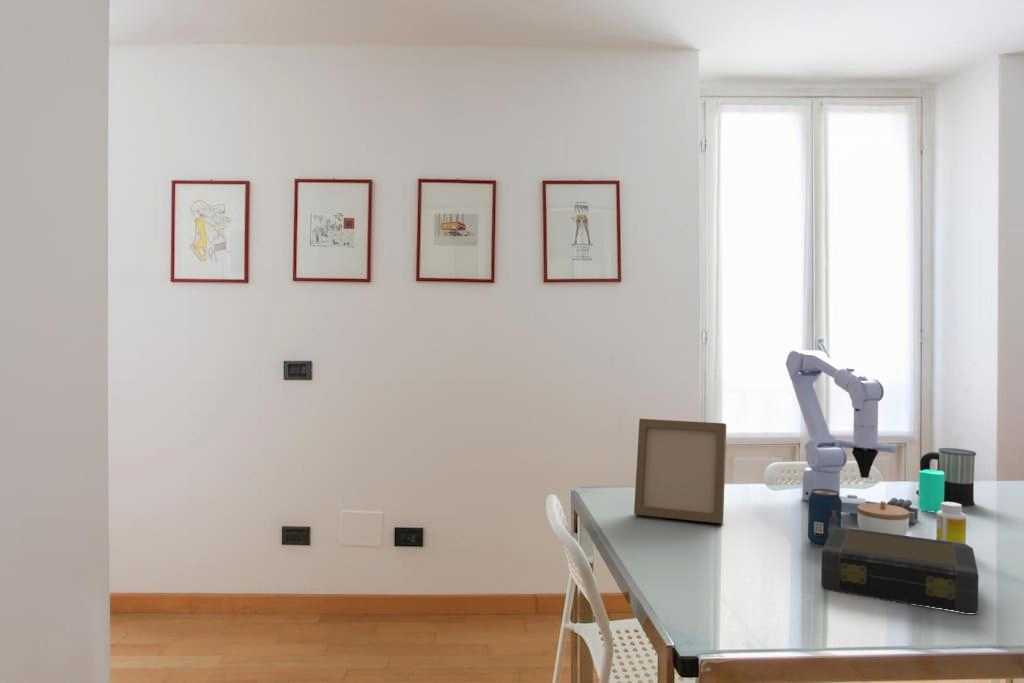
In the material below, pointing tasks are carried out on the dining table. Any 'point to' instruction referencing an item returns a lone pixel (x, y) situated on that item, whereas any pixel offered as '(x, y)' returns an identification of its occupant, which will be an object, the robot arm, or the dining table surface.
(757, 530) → the dining table surface
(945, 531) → the supplement bottle
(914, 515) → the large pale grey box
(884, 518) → the lidded jar
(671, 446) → the photo frame
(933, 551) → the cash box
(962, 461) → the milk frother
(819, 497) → the soda can
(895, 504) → the grey ridged block
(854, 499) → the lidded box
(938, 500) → the candle
